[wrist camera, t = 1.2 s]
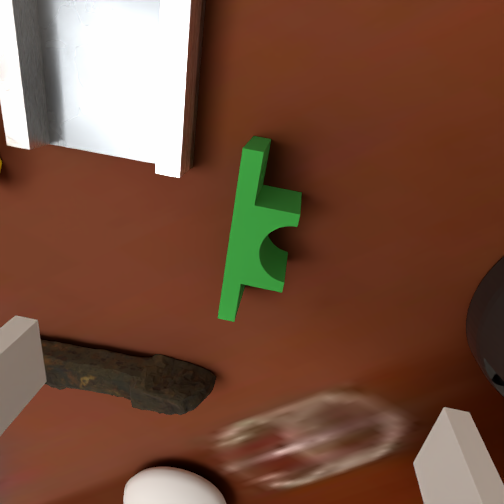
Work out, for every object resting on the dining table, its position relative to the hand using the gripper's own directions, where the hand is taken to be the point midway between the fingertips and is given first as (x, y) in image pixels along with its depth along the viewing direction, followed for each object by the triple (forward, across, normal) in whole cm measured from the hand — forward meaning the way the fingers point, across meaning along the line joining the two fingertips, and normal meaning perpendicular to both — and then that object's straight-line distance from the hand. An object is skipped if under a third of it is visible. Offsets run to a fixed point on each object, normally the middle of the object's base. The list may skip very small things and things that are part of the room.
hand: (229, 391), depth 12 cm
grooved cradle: (+15, +11, -8) cm, 21 cm away
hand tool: (+16, +12, +15) cm, 25 cm away
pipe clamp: (+16, 0, 0) cm, 16 cm away
